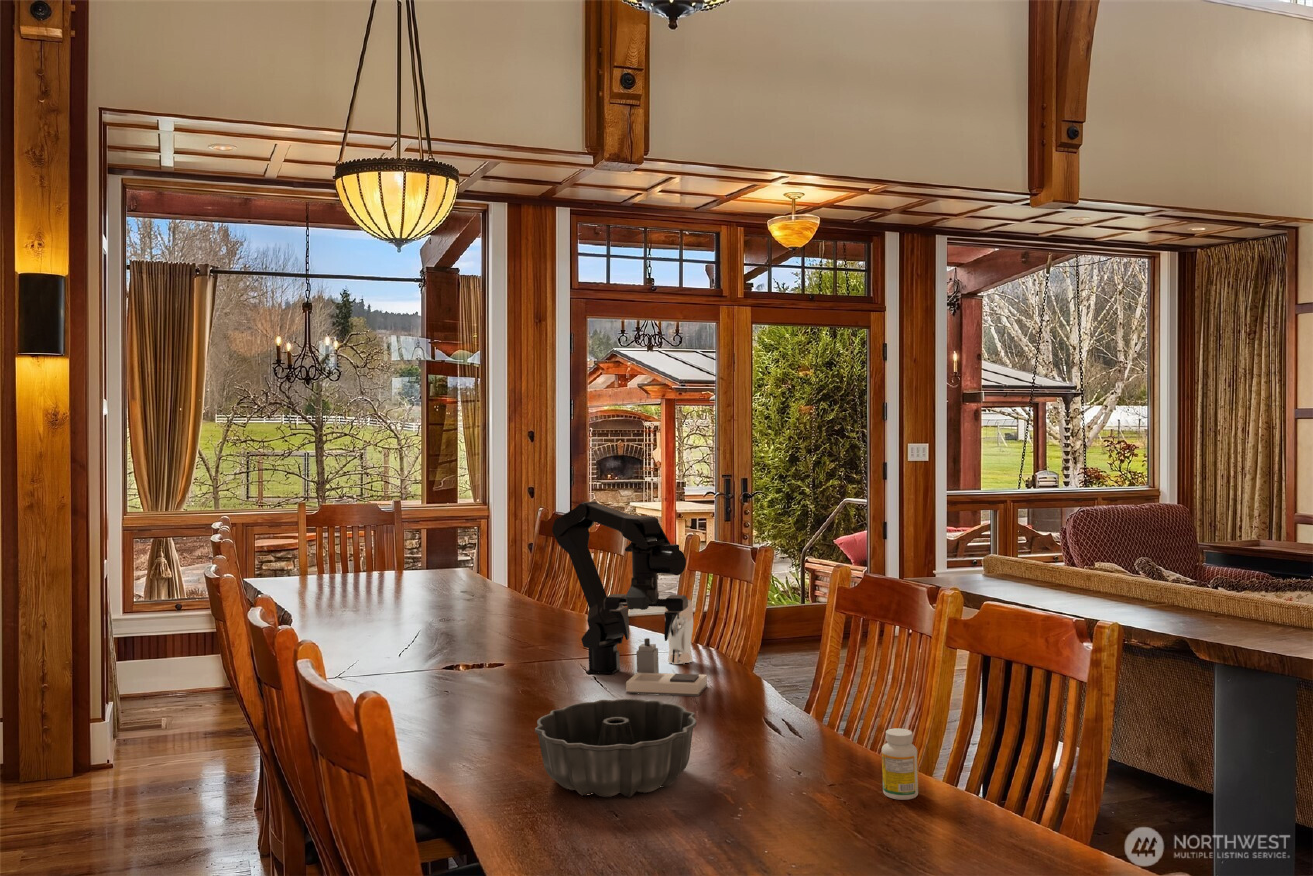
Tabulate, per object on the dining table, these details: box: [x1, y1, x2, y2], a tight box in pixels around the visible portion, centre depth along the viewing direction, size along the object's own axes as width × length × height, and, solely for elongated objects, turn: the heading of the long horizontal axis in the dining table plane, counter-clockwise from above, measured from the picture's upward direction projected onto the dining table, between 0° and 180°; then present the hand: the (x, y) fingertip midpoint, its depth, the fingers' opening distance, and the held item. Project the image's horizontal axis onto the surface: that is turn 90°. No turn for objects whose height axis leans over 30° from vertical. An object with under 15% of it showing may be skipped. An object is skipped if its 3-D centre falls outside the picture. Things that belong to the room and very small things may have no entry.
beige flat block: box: [625, 672, 708, 697], centre depth 226 cm, size 16×9×3 cm, turn 75°
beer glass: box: [664, 599, 694, 665], centre depth 253 cm, size 7×7×15 cm
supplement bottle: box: [881, 727, 919, 801], centre depth 158 cm, size 5×5×10 cm
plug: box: [636, 637, 660, 673], centre depth 235 cm, size 4×4×10 cm
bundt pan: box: [534, 698, 697, 798], centre depth 168 cm, size 26×26×10 cm
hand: (646, 640), depth 236 cm, fingers open, 9 cm apart
